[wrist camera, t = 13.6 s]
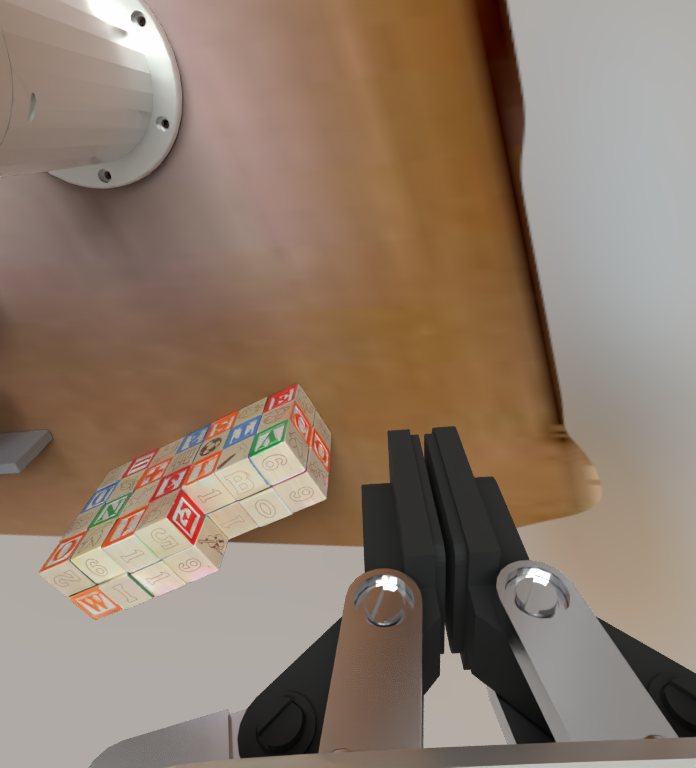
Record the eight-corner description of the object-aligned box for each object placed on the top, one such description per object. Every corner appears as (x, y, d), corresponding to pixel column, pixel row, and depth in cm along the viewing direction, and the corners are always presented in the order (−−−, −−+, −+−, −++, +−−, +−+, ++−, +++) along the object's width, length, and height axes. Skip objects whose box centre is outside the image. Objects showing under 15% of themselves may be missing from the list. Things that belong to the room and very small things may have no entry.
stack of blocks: (298, 379, 41) (280, 467, 31) (332, 432, 44) (328, 531, 33) (108, 470, 46) (34, 575, 35) (149, 514, 49) (92, 624, 38)
